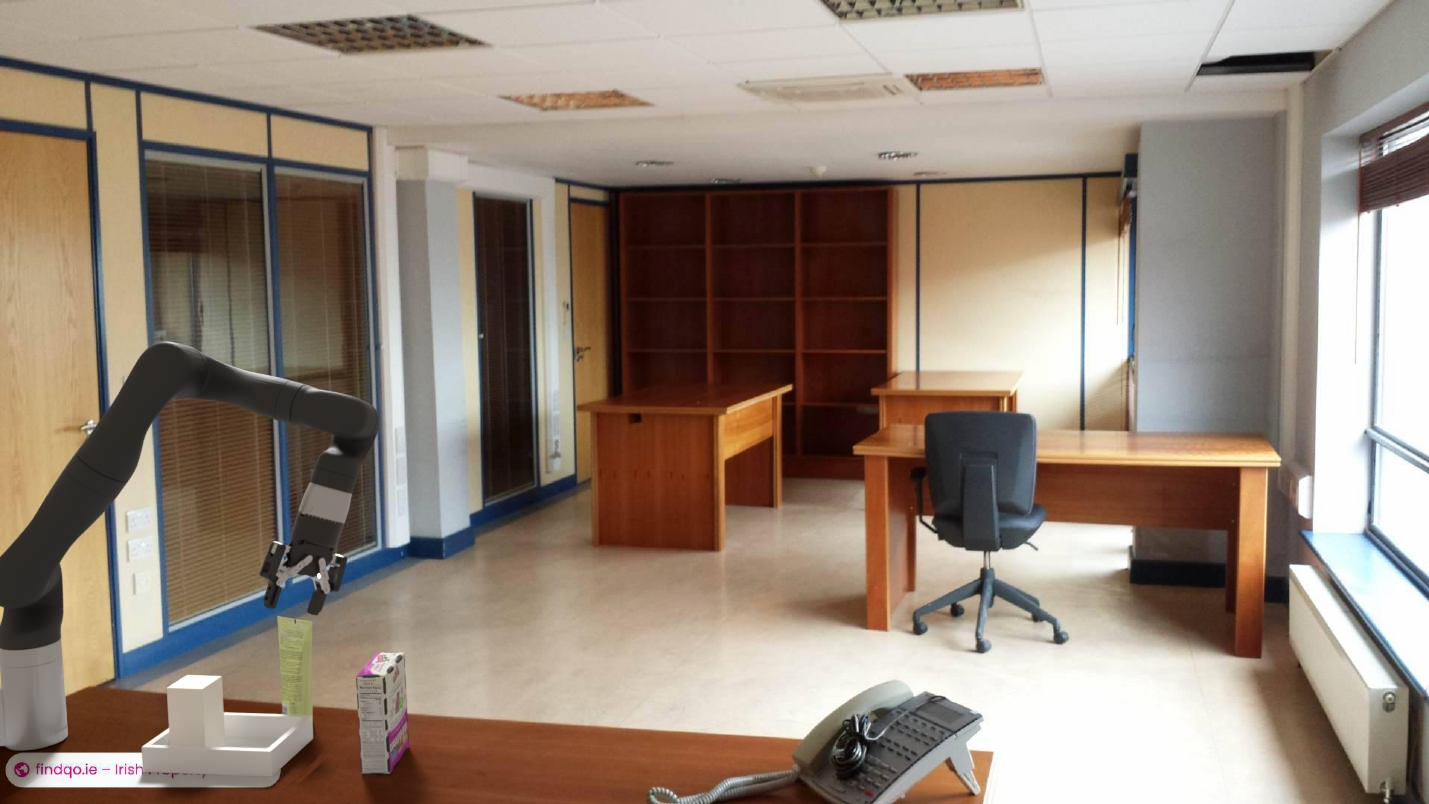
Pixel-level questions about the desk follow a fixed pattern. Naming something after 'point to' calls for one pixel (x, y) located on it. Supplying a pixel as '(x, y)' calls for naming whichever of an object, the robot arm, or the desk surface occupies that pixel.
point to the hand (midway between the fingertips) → (290, 611)
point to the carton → (196, 711)
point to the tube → (296, 665)
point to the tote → (235, 747)
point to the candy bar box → (382, 712)
